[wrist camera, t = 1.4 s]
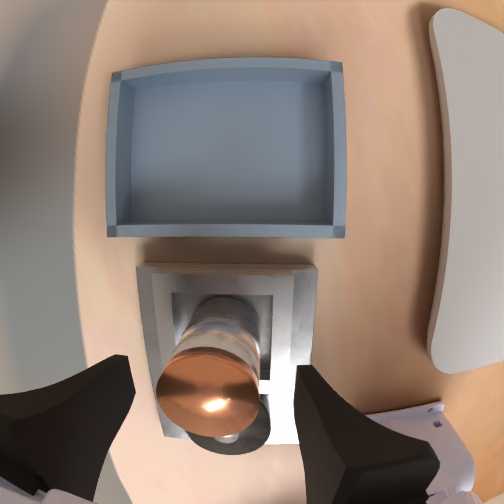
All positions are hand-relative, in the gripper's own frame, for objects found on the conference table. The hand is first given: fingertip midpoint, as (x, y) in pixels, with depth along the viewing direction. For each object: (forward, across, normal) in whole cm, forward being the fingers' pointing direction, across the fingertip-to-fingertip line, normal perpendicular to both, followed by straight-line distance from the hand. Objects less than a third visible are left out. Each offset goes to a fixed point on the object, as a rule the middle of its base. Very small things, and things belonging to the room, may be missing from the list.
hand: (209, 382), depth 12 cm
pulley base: (+6, 0, +3) cm, 7 cm away
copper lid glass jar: (+5, 0, 0) cm, 5 cm away
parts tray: (+6, 0, -10) cm, 12 cm away
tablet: (+7, -21, -9) cm, 24 cm away
